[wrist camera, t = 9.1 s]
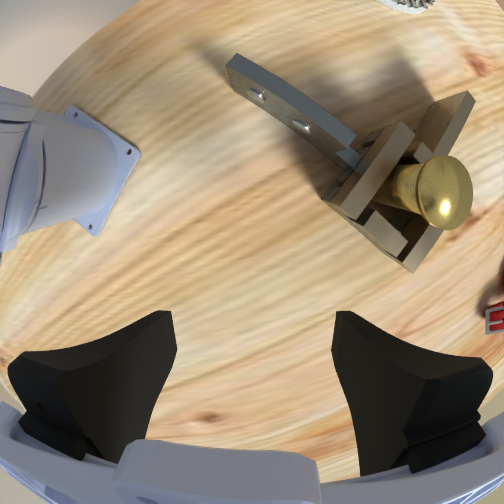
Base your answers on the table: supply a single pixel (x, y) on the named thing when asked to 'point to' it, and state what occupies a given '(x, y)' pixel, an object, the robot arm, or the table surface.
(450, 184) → the hinge pin
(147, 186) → the table surface
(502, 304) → the tracker holder
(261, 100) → the fixed leaf
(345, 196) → the swing leaf
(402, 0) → the decorative candle
